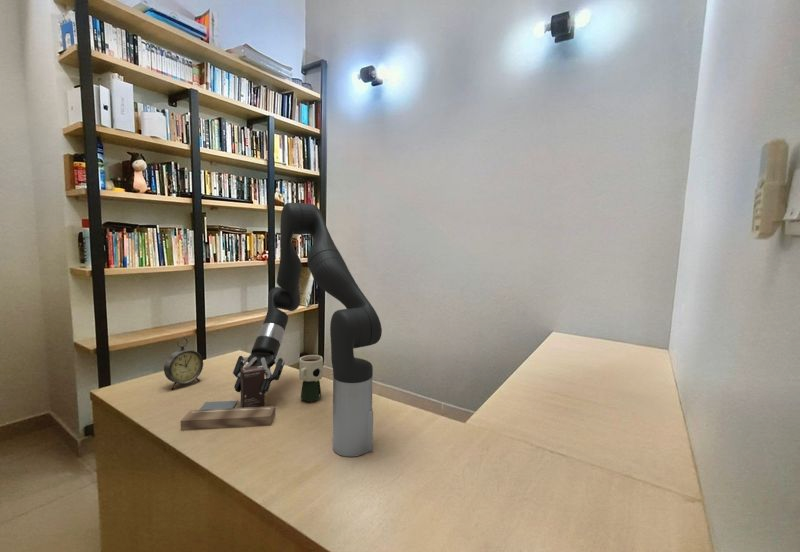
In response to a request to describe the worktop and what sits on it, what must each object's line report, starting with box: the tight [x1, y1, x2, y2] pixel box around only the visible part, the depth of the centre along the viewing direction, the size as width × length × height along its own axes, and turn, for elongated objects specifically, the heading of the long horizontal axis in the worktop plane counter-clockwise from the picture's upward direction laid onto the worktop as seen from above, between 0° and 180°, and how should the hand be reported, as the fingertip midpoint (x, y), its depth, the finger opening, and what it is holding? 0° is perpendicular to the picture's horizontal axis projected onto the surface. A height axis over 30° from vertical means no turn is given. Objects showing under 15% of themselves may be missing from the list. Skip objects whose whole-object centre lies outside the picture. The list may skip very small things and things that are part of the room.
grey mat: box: [198, 400, 239, 410], centre depth 103 cm, size 9×9×1 cm
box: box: [240, 365, 266, 408], centre depth 103 cm, size 6×4×12 cm
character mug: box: [298, 354, 324, 402], centre depth 111 cm, size 11×7×13 cm, turn 163°
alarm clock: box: [163, 336, 204, 390], centre depth 119 cm, size 11×5×16 cm, turn 148°
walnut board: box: [180, 405, 276, 431], centre depth 96 cm, size 22×6×3 cm, turn 99°
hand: (250, 391), depth 102 cm, fingers closed on box, 7 cm apart
